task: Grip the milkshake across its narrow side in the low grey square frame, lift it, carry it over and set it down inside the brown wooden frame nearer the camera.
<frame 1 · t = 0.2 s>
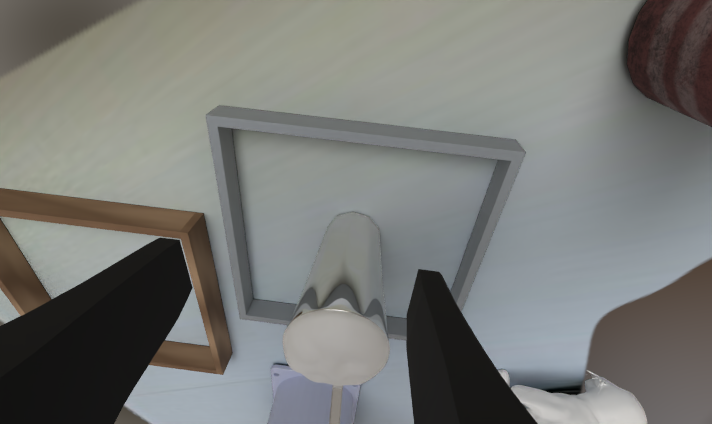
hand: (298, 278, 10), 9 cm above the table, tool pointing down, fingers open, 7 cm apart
grey square frame: (353, 238, 21), on the table
brown wooden frame: (122, 282, 26), on the table
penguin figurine: (541, 380, 28), on the table
milkshake: (353, 236, 21), resting in grey square frame
can: (698, 26, 14), on the table
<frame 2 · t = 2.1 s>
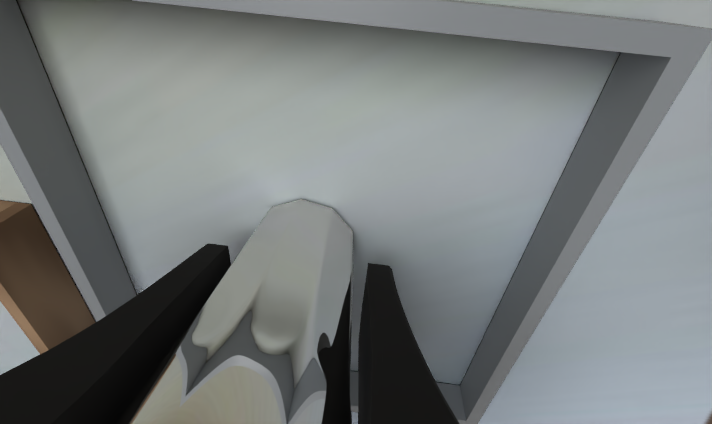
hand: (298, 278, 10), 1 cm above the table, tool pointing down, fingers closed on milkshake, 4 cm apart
grey square frame: (307, 249, 12), on the table
milkshake: (309, 245, 12), resting in grey square frame, touching gripper
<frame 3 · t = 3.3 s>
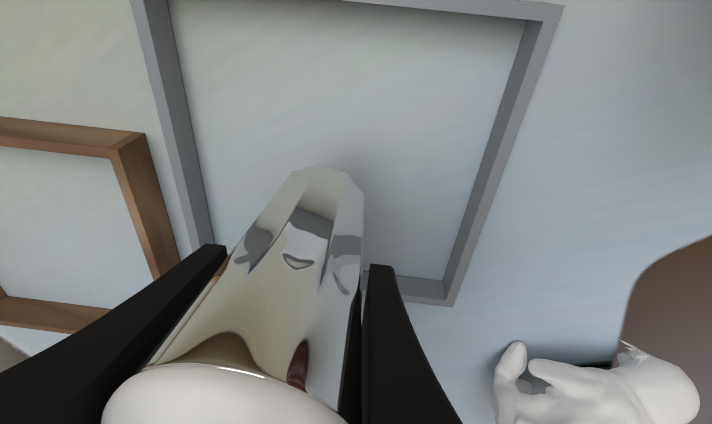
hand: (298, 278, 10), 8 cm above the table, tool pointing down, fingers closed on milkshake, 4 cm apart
grey square frame: (334, 164, 17), on the table
brown wooden frame: (59, 233, 21), on the table
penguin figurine: (563, 355, 24), on the table
milkshake: (325, 208, 13), point 4 cm above the table, touching gripper
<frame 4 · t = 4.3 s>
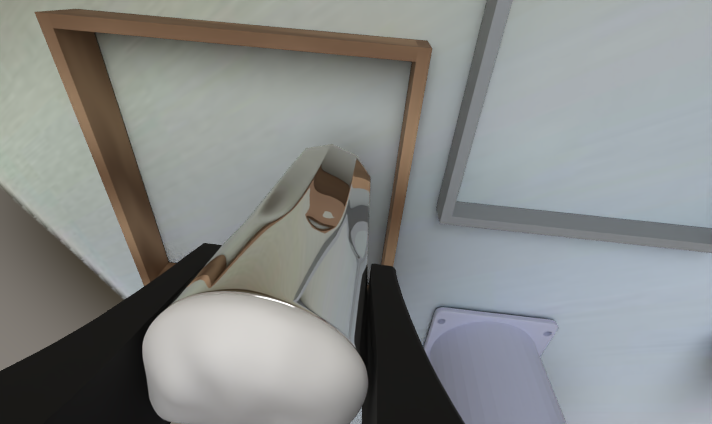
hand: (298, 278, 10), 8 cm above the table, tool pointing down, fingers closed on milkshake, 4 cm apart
grey square frame: (656, 75, 14), on the table
brown wooden frame: (263, 181, 18), on the table
milkshake: (330, 187, 14), point 4 cm above the table, touching gripper
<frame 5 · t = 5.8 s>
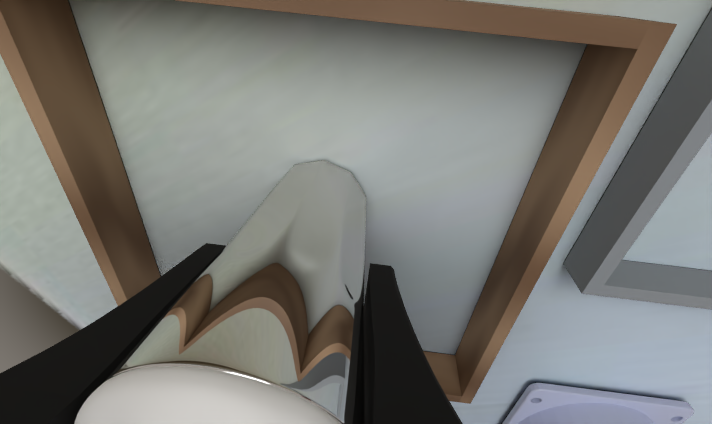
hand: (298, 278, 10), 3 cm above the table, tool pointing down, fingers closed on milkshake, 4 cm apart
brown wooden frame: (316, 223, 13), on the table
milkshake: (322, 206, 13), resting in brown wooden frame, touching gripper
when the fingers open (3 cm above the table, at t = 6.6 s): milkshake stays where it is, resting in brown wooden frame.
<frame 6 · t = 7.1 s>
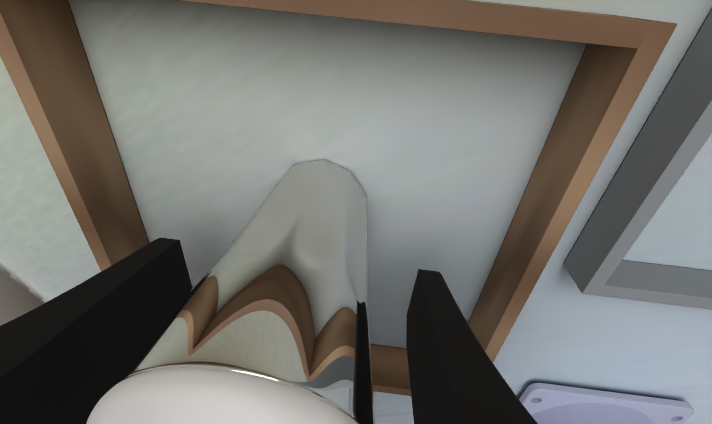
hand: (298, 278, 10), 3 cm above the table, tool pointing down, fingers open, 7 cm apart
brown wooden frame: (315, 223, 13), on the table
milkshake: (321, 206, 13), resting in brown wooden frame
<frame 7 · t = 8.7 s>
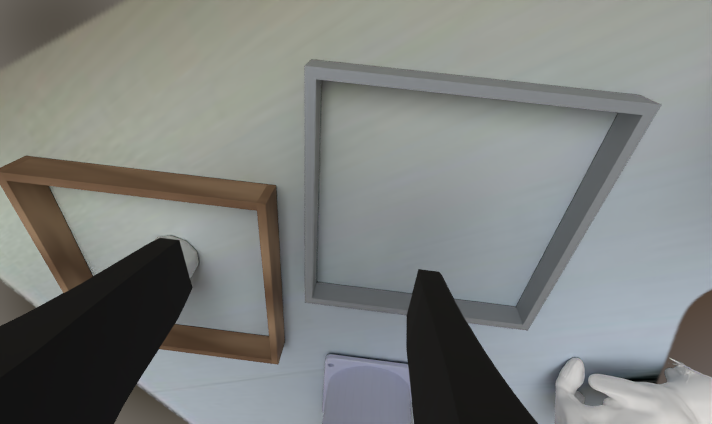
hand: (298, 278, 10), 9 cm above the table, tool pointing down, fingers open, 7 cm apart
grey square frame: (437, 211, 20), on the table
brown wooden frame: (177, 264, 24), on the table
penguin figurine: (614, 369, 27), on the table
milkshake: (178, 255, 24), resting in brown wooden frame
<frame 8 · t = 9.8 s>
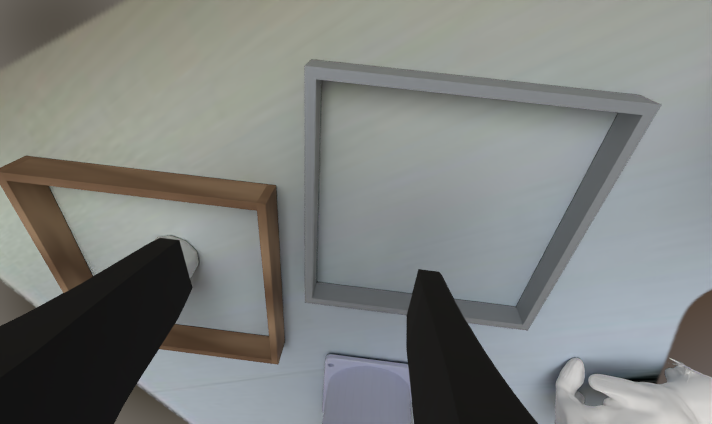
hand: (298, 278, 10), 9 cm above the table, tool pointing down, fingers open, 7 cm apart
grey square frame: (437, 211, 20), on the table
brown wooden frame: (177, 264, 24), on the table
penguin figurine: (614, 369, 27), on the table
milkshake: (178, 255, 24), resting in brown wooden frame
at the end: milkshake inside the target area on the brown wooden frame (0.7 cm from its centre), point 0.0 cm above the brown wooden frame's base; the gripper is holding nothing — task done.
